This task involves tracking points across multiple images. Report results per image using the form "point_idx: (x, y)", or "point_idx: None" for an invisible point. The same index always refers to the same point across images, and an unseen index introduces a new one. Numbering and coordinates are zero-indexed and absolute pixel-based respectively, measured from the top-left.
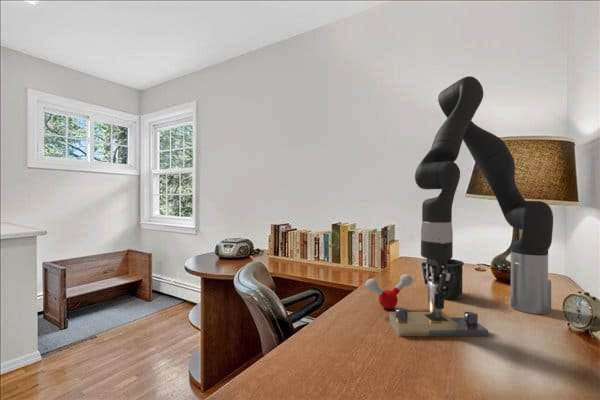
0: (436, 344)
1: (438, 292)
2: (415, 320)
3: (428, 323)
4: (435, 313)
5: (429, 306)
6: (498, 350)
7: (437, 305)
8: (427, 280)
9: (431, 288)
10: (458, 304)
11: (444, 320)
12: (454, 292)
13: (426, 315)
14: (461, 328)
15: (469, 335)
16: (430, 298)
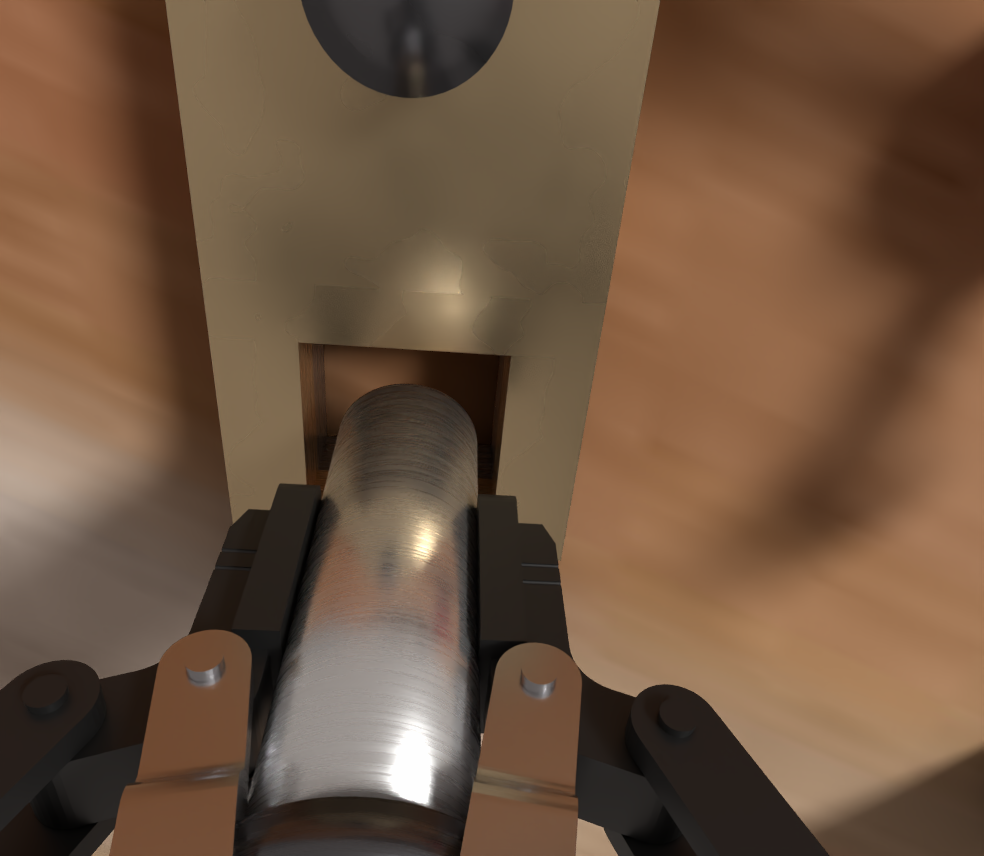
0: (42, 206)
1: (56, 677)
2: (303, 149)
3: (210, 273)
4: (338, 445)
5: (411, 449)
6: (46, 602)
7: (250, 522)
8: (571, 776)
9: (329, 672)
10: (900, 755)
11: None
12: None
13: (507, 372)
14: None
15: None
16: (372, 531)
